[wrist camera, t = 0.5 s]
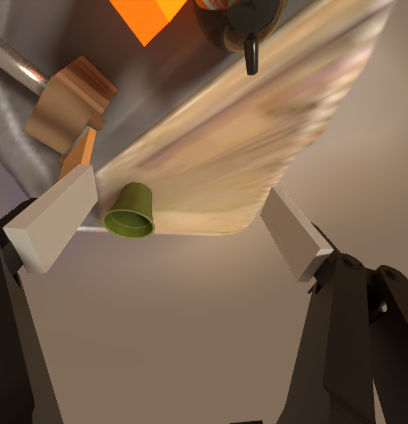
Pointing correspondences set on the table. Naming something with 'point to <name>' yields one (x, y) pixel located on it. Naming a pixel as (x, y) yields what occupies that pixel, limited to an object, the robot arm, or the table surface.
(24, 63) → the pin
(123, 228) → the plant pot
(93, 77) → the hitch block
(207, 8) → the pump dispenser
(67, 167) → the plate
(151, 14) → the orange juice
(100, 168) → the table surface
